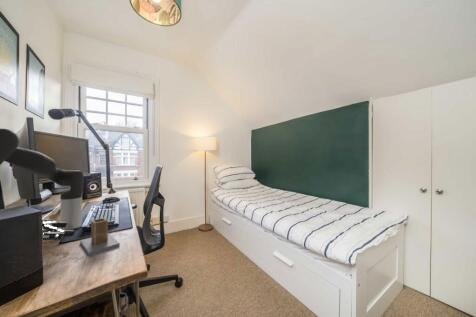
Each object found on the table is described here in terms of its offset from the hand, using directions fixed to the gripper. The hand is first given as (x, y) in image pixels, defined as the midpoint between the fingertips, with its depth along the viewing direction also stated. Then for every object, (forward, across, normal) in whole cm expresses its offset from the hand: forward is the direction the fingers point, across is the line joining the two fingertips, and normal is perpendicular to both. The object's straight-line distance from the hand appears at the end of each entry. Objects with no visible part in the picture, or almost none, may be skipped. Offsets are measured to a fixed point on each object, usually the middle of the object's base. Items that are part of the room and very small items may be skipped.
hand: (69, 229), depth 79 cm
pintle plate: (+12, -7, +5) cm, 14 cm away
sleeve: (+11, -6, +3) cm, 13 cm away
